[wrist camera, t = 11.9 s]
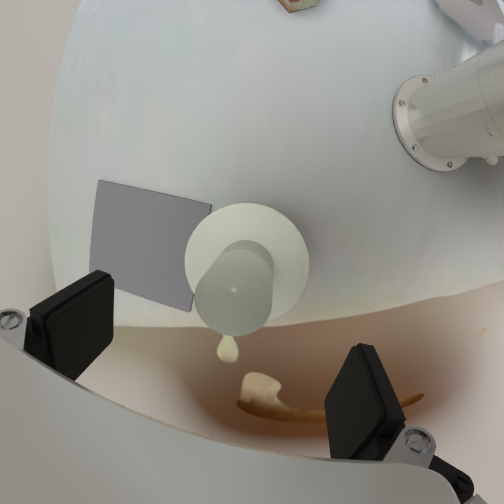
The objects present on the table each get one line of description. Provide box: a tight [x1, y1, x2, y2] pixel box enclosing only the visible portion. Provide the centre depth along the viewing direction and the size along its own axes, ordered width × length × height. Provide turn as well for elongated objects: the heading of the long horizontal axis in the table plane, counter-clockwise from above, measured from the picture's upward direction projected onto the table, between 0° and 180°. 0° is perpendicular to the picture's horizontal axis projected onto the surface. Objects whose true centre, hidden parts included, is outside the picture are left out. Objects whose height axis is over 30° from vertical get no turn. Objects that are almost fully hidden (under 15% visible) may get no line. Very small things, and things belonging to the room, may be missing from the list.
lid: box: [185, 203, 310, 336], centre depth 18 cm, size 9×9×7 cm
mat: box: [89, 180, 212, 313], centre depth 34 cm, size 16×14×1 cm
